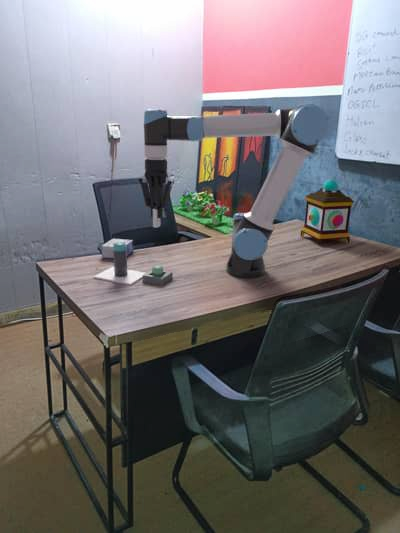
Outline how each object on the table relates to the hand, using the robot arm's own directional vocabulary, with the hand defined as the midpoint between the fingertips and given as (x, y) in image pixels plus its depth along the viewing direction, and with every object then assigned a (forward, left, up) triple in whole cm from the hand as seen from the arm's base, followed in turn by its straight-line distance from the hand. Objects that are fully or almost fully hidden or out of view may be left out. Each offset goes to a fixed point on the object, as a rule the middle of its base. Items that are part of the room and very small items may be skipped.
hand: (156, 226), depth 153 cm
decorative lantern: (-47, -85, -20) cm, 99 cm away
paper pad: (+14, +3, -20) cm, 25 cm away
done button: (0, 0, -18) cm, 18 cm away
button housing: (0, 0, -20) cm, 20 cm away
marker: (+14, +3, -20) cm, 24 cm away
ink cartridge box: (+28, -12, -18) cm, 35 cm away
